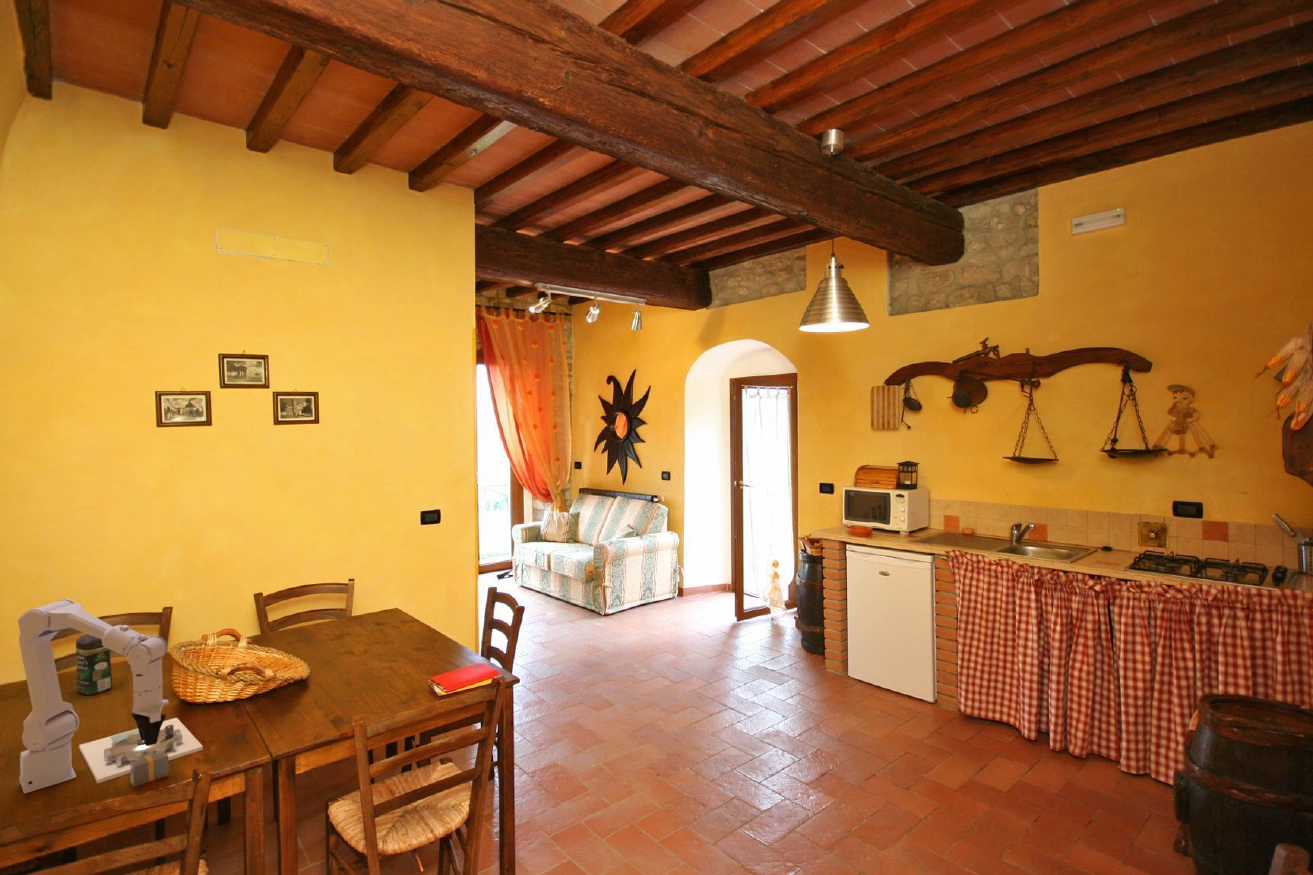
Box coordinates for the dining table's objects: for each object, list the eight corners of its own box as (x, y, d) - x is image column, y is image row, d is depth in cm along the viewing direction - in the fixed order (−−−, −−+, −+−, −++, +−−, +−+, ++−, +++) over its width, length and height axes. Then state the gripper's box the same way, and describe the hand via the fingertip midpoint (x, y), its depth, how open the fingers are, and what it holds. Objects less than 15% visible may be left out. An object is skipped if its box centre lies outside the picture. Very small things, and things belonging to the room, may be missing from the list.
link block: (133, 787, 160) (133, 766, 160) (130, 782, 162) (130, 761, 162) (168, 775, 165) (168, 755, 165) (165, 770, 167) (164, 751, 167)
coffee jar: (72, 691, 216) (71, 636, 215) (101, 683, 223) (100, 629, 222) (87, 697, 211) (85, 640, 211) (116, 688, 218) (115, 633, 218)
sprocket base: (97, 783, 162) (97, 778, 162) (79, 748, 179) (79, 744, 179) (202, 749, 178) (202, 745, 178) (176, 720, 195) (176, 716, 195)
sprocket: (86, 765, 167) (85, 746, 167) (138, 734, 184) (138, 716, 184) (150, 765, 167) (150, 746, 167) (197, 734, 184) (196, 717, 184)
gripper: (175, 690, 161) (176, 745, 162) (160, 675, 171) (161, 726, 171) (139, 699, 156) (140, 756, 156) (126, 683, 166) (127, 736, 166)
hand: (149, 741), depth 163 cm, fingers open, 4 cm apart
